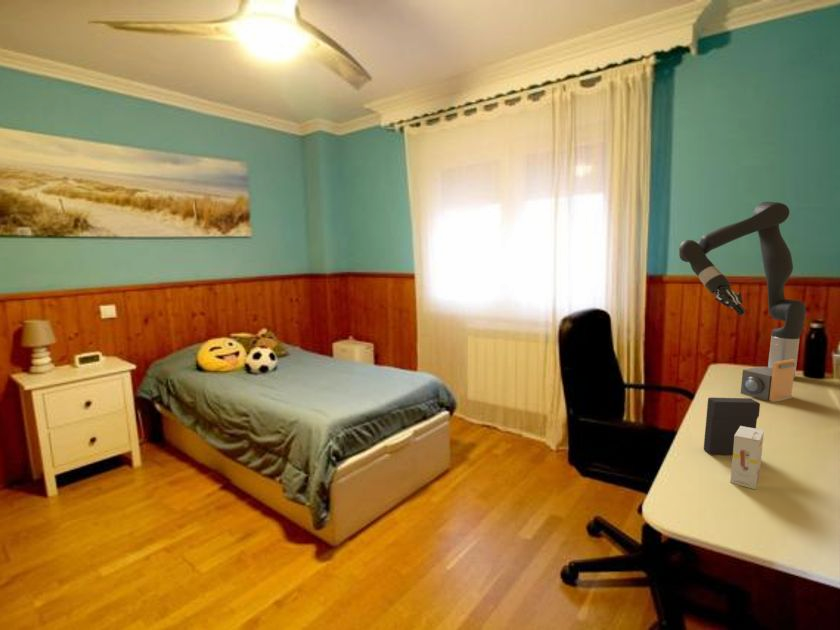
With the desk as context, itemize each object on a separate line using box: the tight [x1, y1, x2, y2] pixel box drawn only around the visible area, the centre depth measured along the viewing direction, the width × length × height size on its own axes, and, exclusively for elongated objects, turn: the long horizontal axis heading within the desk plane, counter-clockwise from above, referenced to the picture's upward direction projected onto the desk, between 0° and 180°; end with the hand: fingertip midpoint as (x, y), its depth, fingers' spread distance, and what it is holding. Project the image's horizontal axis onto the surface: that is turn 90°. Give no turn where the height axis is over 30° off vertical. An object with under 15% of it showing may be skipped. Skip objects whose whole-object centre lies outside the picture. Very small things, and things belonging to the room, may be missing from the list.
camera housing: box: [740, 365, 773, 402], centre depth 159 cm, size 14×9×10 cm, turn 112°
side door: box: [769, 359, 796, 403], centre depth 154 cm, size 11×2×15 cm, turn 112°
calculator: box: [703, 397, 761, 456], centre depth 115 cm, size 11×4×15 cm, turn 84°
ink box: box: [729, 426, 765, 490], centre depth 102 cm, size 9×5×12 cm, turn 136°
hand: (743, 314), depth 165 cm, fingers closed
